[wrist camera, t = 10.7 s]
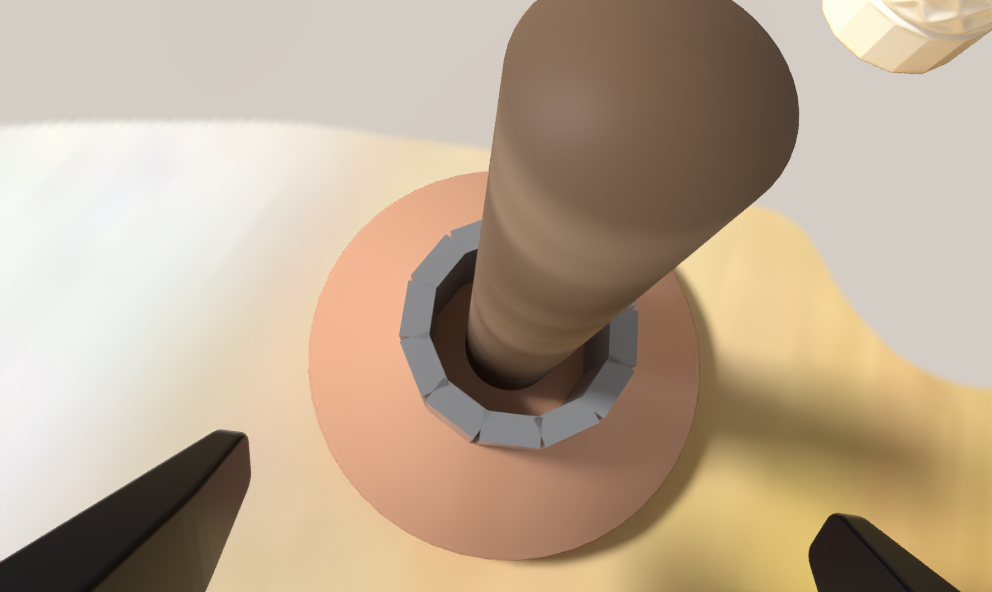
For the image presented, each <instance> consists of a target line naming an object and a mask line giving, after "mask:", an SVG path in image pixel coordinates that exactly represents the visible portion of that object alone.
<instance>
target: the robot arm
mask: <svg viewBox="0 0 992 592" xmlns="http://www.w3.org/2000/svg"><path fill="white" fill-rule="evenodd" d="M250 479H251V466H250V452H249V441H248V437H247V435H246V434H245V433H243V432H236V431H229V430H217V431H214V432H212V433H210V434H209V435H207V436H205V437H204V438H202V439H200V440H199V441H197V442H196V443H194V444H192V445H191V446H189V447H187V448H186V449H184V450H182V451H181V452H179V453H178V454H176V455H174V456H173V457H171V458H169V459H168V460H166V461H164V462H163V463H161V464H160V465H158V466H156V467H155V468H153V469H151V470H150V471H148V472H146V473H145V474H143V475H141V476H140V477H138V478H137V479H135V480H133V481H132V482H130V483H128V484H127V485H125V486H123V487H122V488H120V489H119V490H117V491H115V492H114V493H112V494H110V495H109V496H107V497H105V498H104V499H102V500H100V501H99V502H97V503H96V504H94V505H92V506H91V507H89V508H87V509H86V510H84V511H82V512H81V513H79V514H78V515H76V516H74V517H73V518H71V519H69V520H68V521H66V522H64V523H63V524H61V525H60V526H58V527H56V528H55V529H53V530H51V531H50V532H48V533H46V534H45V535H43V536H41V537H40V538H38V539H37V540H35V541H33V542H32V543H30V544H28V545H27V546H25V547H23V548H22V549H20V550H19V551H17V552H15V553H14V554H12V555H10V556H9V557H7V558H5V559H4V560H2V561H1V562H0V592H206V589H207V587H208V585H209V582H210V580H211V578H212V576H213V573H214V571H215V568H216V566H217V563H218V561H219V559H220V556H221V554H222V551H223V549H224V546H225V544H226V541H227V539H228V536H229V534H230V532H231V529H232V527H233V524H234V522H235V519H236V517H237V514H238V512H239V510H240V507H241V505H242V502H243V500H244V497H245V495H246V492H247V490H248V487H249V483H250ZM809 563H810V567H811V570H812V574H813V577H814V580H815V584H816V587H817V590H818V592H960V591H959V590H958V589H956V588H955V587H954V586H952V585H951V584H950V583H948V582H947V581H946V580H944V579H943V578H942V577H941V576H939V575H938V574H937V573H935V572H934V571H933V570H931V569H930V568H929V567H928V566H926V565H925V564H924V563H922V562H921V561H920V560H918V559H917V558H916V557H914V556H913V555H912V554H911V553H909V552H908V551H907V550H905V549H904V548H903V547H901V546H900V545H899V544H898V543H896V542H895V541H894V540H892V539H891V538H890V537H888V536H887V535H886V534H884V533H883V532H882V531H881V530H879V529H878V528H877V527H875V526H874V525H873V524H871V523H870V522H869V521H867V520H866V519H865V518H863V517H860V516H856V515H849V514H842V513H834V514H832V515H830V516H829V517H828V518H827V520H826V521H825V523H824V525H823V526H822V528H821V529H820V531H819V533H818V534H817V536H816V537H815V539H814V541H813V542H812V544H811V546H810V548H809Z"/></svg>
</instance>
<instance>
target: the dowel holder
mask: <svg viewBox="0 0 992 592" xmlns="http://www.w3.org/2000/svg"><path fill="white" fill-rule="evenodd" d="M488 173H489V172H478V173H471V174H465V175H459V176H455V177H451V178H448V179H444V180H440V181H437V182H434V183H432V184H429V185H427V186H425V187H422V188H420V189H417V190H415V191H413V192H411V193H410V194H408V195H406V196H404V197H403V198H401V199H399V200H397V201H395V202H394V203H393V204H391V205H390V206H388V207H387V208H386V209H384V210H383V211H382V212H380V213H379V214H378V215H376V216H375V217H374V218H373V219H372V220H371V221H370V222H369V223H368V224H367V225H366V226H365V227H364V228H363V229H362V230H360V231H359V232H358V234H357V235H356V236H355V237H354V239H353V240H352V241H351V242H350V243H349V245H348V246H347V247H346V248H345V250H344V251H343V252H342V254H341V256H340V257H339V259H338V261H337V262H336V264H335V265H334V267H333V269H332V270H331V272H330V274H329V276H328V278H327V281H326V283H325V285H324V287H323V290H322V292H321V294H320V297H319V301H318V304H317V307H316V311H315V314H314V318H313V322H312V329H311V335H310V342H309V379H310V387H311V395H312V401H313V404H314V408H315V412H316V416H317V419H318V423H319V426H320V428H321V431H322V433H323V436H324V438H325V440H326V443H327V445H328V447H329V450H330V451H331V453H332V455H333V457H334V458H335V460H336V462H337V463H338V465H339V467H340V468H341V470H342V472H343V473H344V475H345V476H346V477H347V478H348V480H349V481H350V482H351V483H352V485H353V486H354V487H355V488H356V490H357V491H358V492H359V493H360V495H361V496H362V497H363V498H364V499H365V500H366V501H368V502H369V503H370V504H371V505H372V506H373V507H374V508H375V509H376V510H377V511H378V512H379V513H380V514H381V515H383V516H384V517H385V518H387V519H388V520H390V521H391V522H393V523H394V524H395V525H397V526H398V527H400V528H401V529H403V530H404V531H405V532H407V533H409V534H411V535H413V536H415V537H417V538H419V539H421V540H423V541H425V542H427V543H429V544H431V545H434V546H437V547H440V548H443V549H446V550H449V551H452V552H455V553H458V554H462V555H467V556H473V557H478V558H484V559H497V560H522V559H531V558H540V557H546V556H550V555H554V554H558V553H561V552H565V551H569V550H572V549H575V548H577V547H579V546H582V545H584V544H586V543H589V542H591V541H593V540H596V539H598V538H599V537H601V536H603V535H604V534H606V533H608V532H609V531H611V530H613V529H614V528H616V527H618V526H619V525H621V524H622V523H623V522H624V521H626V520H627V519H628V518H629V517H630V516H632V515H633V514H634V513H635V512H636V511H638V510H639V509H640V508H641V507H642V506H643V505H644V504H645V503H646V502H647V501H648V500H649V498H650V497H651V496H652V495H653V494H654V493H655V492H656V491H657V490H658V489H659V487H660V486H661V484H662V483H663V481H664V480H665V478H666V477H667V476H668V474H669V473H670V471H671V470H672V468H673V467H674V465H675V463H676V461H677V459H678V457H679V455H680V453H681V451H682V449H683V447H684V445H685V443H686V440H687V437H688V434H689V431H690V428H691V425H692V422H693V419H694V414H695V408H696V403H697V398H698V390H699V373H700V365H699V351H698V342H697V337H696V332H695V326H694V321H693V318H692V315H691V312H690V309H689V306H688V303H687V300H686V297H685V295H684V293H683V291H682V288H681V286H680V284H679V282H678V280H677V278H676V276H675V274H674V273H673V271H670V272H669V273H668V274H667V275H666V276H664V277H663V278H662V279H661V280H660V281H658V282H657V283H656V284H655V285H654V286H652V287H651V288H650V289H649V290H648V291H646V292H645V293H644V294H643V295H642V296H640V297H639V298H638V299H637V300H636V301H634V302H633V303H632V304H631V305H630V306H628V307H627V308H626V309H625V310H624V311H622V312H621V313H620V314H619V315H618V316H616V317H615V318H614V319H613V320H612V321H610V322H609V323H608V324H607V325H606V326H604V327H603V328H602V329H601V330H599V331H598V332H597V333H596V334H595V335H593V336H592V337H591V338H590V339H589V340H587V341H586V342H585V343H584V344H583V345H581V346H580V347H579V348H578V349H577V350H575V351H574V352H573V353H572V354H571V355H569V356H568V357H567V358H566V359H565V360H563V361H562V362H561V363H560V364H559V365H557V366H556V367H555V368H554V369H553V370H551V371H550V372H549V373H548V374H547V375H545V376H544V377H543V378H542V379H541V380H539V381H538V382H537V383H535V384H534V385H532V386H530V387H528V388H524V389H521V390H512V391H509V390H502V389H498V388H495V387H492V386H490V385H489V384H487V383H485V382H484V381H483V380H481V379H480V378H479V377H478V376H477V375H476V373H475V372H474V371H473V369H472V368H471V366H470V364H469V362H468V359H467V356H466V350H465V341H466V333H467V325H468V318H469V311H470V304H471V296H472V289H473V282H474V275H475V267H476V260H477V253H478V245H479V238H480V231H481V224H482V216H483V209H484V202H485V195H486V187H487V180H488Z"/></svg>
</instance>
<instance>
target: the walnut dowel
mask: <svg viewBox="0 0 992 592" xmlns="http://www.w3.org/2000/svg"><path fill="white" fill-rule="evenodd" d="M798 126H799V106H798V96H797V92H796V88H795V84H794V80H793V77H792V75H791V72H790V70H789V67H788V65H787V63H786V61H785V59H784V57H783V55H782V53H781V52H780V50H779V48H778V47H777V45H776V44H775V42H774V41H773V40H772V38H771V37H770V36H769V34H768V33H767V32H766V31H765V30H764V29H763V27H762V26H761V25H760V24H759V23H758V22H757V21H756V20H755V19H754V18H753V17H752V16H751V15H750V14H748V12H746V11H745V10H744V9H743V8H742V7H740V6H739V5H737V4H736V3H735V2H733V1H732V0H537V1H536V2H534V3H533V4H532V6H531V7H530V8H529V9H528V10H527V11H526V12H525V14H524V15H523V16H522V18H521V19H520V21H519V22H518V24H517V26H516V27H515V29H514V31H513V33H512V36H511V38H510V40H509V43H508V46H507V50H506V54H505V58H504V64H503V71H502V78H501V86H500V93H499V100H498V108H497V115H496V122H495V129H494V137H493V144H492V151H491V158H490V165H489V173H488V180H487V187H486V195H485V202H484V209H483V216H482V224H481V231H480V238H479V245H478V253H477V260H476V267H475V275H474V282H473V289H472V296H471V304H470V311H469V318H468V325H467V333H466V341H465V350H466V356H467V359H468V362H469V364H470V366H471V368H472V369H473V371H474V372H475V373H476V375H477V376H478V377H479V378H480V379H481V380H483V381H484V382H485V383H487V384H489V385H490V386H492V387H495V388H498V389H502V390H509V391H512V390H521V389H524V388H528V387H530V386H532V385H534V384H535V383H537V382H538V381H539V380H541V379H542V378H543V377H544V376H545V375H547V374H548V373H549V372H550V371H551V370H553V369H554V368H555V367H556V366H557V365H559V364H560V363H561V362H562V361H563V360H565V359H566V358H567V357H568V356H569V355H571V354H572V353H573V352H574V351H575V350H577V349H578V348H579V347H580V346H581V345H583V344H584V343H585V342H586V341H587V340H589V339H590V338H591V337H592V336H593V335H595V334H596V333H597V332H598V331H599V330H601V329H602V328H603V327H604V326H606V325H607V324H608V323H609V322H610V321H612V320H613V319H614V318H615V317H616V316H618V315H619V314H620V313H621V312H622V311H624V310H625V309H626V308H627V307H628V306H630V305H631V304H632V303H633V302H634V301H636V300H637V299H638V298H639V297H640V296H642V295H643V294H644V293H645V292H646V291H648V290H649V289H650V288H651V287H652V286H654V285H655V284H656V283H657V282H658V281H660V280H661V279H662V278H663V277H664V276H666V275H667V274H668V273H669V272H670V271H672V270H673V269H674V268H675V267H676V266H678V265H679V264H680V263H681V262H682V261H684V260H685V259H686V258H687V257H688V256H690V255H691V254H692V253H693V252H694V251H696V250H697V249H698V248H699V247H700V246H702V245H703V244H704V243H705V242H707V241H708V240H709V239H710V238H711V237H713V236H714V235H715V234H716V233H717V232H719V231H720V230H721V229H722V228H723V227H725V226H726V225H727V224H728V223H729V222H731V221H732V220H733V219H734V218H735V217H737V216H738V215H739V214H740V213H741V212H743V211H744V210H745V209H746V208H747V207H749V206H750V205H751V204H752V203H753V202H755V201H756V200H757V199H758V198H759V197H760V196H761V195H763V194H764V193H765V192H766V191H767V190H768V189H770V187H771V186H772V185H773V184H774V183H775V181H776V180H777V179H778V178H779V177H780V175H781V174H782V172H783V170H784V169H785V167H786V165H787V164H788V162H789V160H790V157H791V154H792V152H793V149H794V146H795V143H796V138H797V134H798Z"/></svg>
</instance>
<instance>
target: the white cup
mask: <svg viewBox="0 0 992 592" xmlns="http://www.w3.org/2000/svg"><path fill="white" fill-rule="evenodd" d="M822 10H823V13H824V15H825V17H826V19H827V21H828V24H829V26H830V27H831V30H832V31H833V34H834V36H835V37H836V38H837V39H838V40H839V41H840V42H841V43H842V44H843V45H845V46H846V47H847V48H848V49H849V50H850V51H851V52H852V53H853V54H854V55H856V56H857V57H858V58H859V59H861V60H863V61H865V62H867V63H870V64H872V65H874V66H876V67H879V68H881V69H884V70H886V71H888V72H894V73H896V72H897V73H911V74H923V73H925V72H927V71H929V70H932V69H934V68H937V67H939V66H941V65H944V64H946V63H948V62H949V61H950V60H952V59H953V58H955V57H956V56H957V55H959V54H960V53H961V52H963V51H964V50H965V49H967V48H968V47H970V46H971V45H972V44H974V43H975V42H976V41H977V40H979V39H980V38H982V37H983V36H984V35H986V34H987V33H988V32H990V31H991V30H992V0H823V7H822Z"/></svg>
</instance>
